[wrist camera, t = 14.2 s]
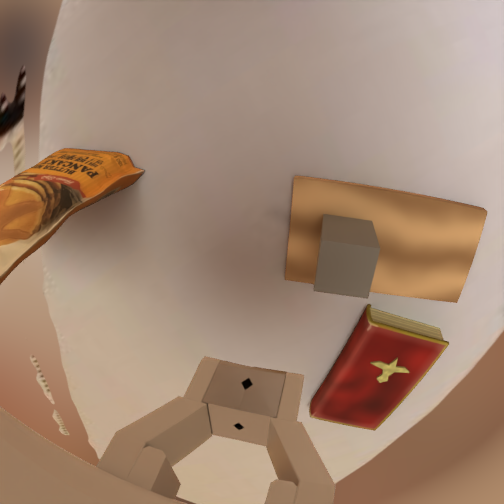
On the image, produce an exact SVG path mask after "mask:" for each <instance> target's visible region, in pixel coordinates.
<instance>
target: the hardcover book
mask: <svg viewBox="0 0 504 504" xmlns="http://www.w3.org/2000/svg"><path fill="white" fill-rule="evenodd" d="M448 345H449V342H447V341H444V340H443V337H442V334H441V331H440V328H437V327H434V326H430V325H427V324H424V323H420V322H417V321H413V320H410V319H407V318H403V317H400V316H397V315H393V314H390V313H387V312H383V311H380V310H377V309H373V308H371V305H370V304H368V305H367V307H366V309H365V311H364V313H363V315H362V317H361V318H360V320H359V322H358V324H357V326H356V328H355V329H354V331H353V333H352V335H351V337H350V338H349V340H348V342H347V344H346V345H345V347H344V349H343V350H342V352H341V354H340V356H339V357H338V359H337V361H336V362H335V364H334V366H333V367H332V369H331V371H330V372H329V374H328V375H327V377H326V379H325V380H324V382H323V383H322V385H321V387H320V388H319V390H318V391H317V393H316V394H315V396H314V397H313V399H312V401H311V403H310V409H309V413H310V417H312V418H316V419H320V420H324V421H329V422H333V423H338V424H343V425H348V426H353V427H358V428H364V429H369V430H376V429H377V428H378V427H379V426H380V425H381V424H382V423H383V422H384V421H385V420H386V419H387V418H388V417H389V416H390V415H391V414H392V412H393V411H394V410H395V409H396V408H397V407H398V406H399V405H400V404H401V403H402V402H403V400H404V399H405V398H406V397H407V396H408V395H409V394H410V393H411V391H412V390H413V389H414V388H415V387H416V386H417V384H418V383H419V382H420V381H421V380H422V378H423V377H424V376H425V375H426V373H427V372H428V371H429V370H430V368H431V367H432V366H433V365H434V363H435V362H436V361H437V360H438V358H439V357H440V356H441V354H442V353H443V352H444V350H445V349H446V348H447V346H448Z"/></svg>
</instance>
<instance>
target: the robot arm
mask: <svg viewBox="0 0 504 504" xmlns="http://www.w3.org/2000/svg"><path fill="white" fill-rule="evenodd" d="M303 381H304V375H302V374H295V373H288V372H287V374H286V372H284V371H278V370H271V369H265V368H259V367H250V366H245V365H241V364H236V363H232V362H228V361H223V360H219V359H214V358H210V357H206V356H205V357H204V358H203V359H202V360H201V362H200V364H199V366H198V368H197V370H196V372H195V374H194V376H193V379H192V381H191V383H190V385H189V387H188V389H187V391H186V393H185V395H184V397H180V396H178V397H177V398H175V399H173V400H172V401H170V402H168V403H167V404H165V405H163V406H161V407H160V408H158V409H156V410H155V411H153V412H151V413H149V414H148V415H146V416H144V417H142V418H140V419H139V420H137V421H135V422H133V423H131V424H130V425H128V426H126V427H124V428H122V429H120V430H119V431H117V432H116V433H115V435H114V437H113V438H112V440H111V442H110V444H109V445H108V447H107V449H106V451H105V452H104V454H103V456H102V457H101V459H100V461H99V463H98V465H97V466H96V467H95V466H93V465H91V464H89V463H87V462H86V461H84V460H81V459H80V458H78V457H76V456H74V455H73V454H71V453H69V452H67V451H66V450H64V449H62V448H61V447H59V446H57V445H56V444H54V443H52V442H50V441H49V440H47V439H45V438H44V437H43V436H41V435H40V434H38V433H36V432H35V431H34V430H32V429H31V428H29V427H28V426H26V425H25V424H23V423H22V422H21V421H19V420H18V419H16V418H15V417H14V416H12V415H11V414H10V413H8V412H7V411H6V410H4V409H3V408H2V407H0V504H186V503H183V502H180V501H177V500H175V497H176V495H177V492H178V490H179V487H180V485H181V484H180V482H179V480H178V478H177V476H176V474H175V473H174V471H173V469H172V466H174V465H175V464H176V463H178V462H179V461H180V460H182V459H183V458H184V457H186V456H187V455H188V454H190V453H191V452H192V451H194V450H195V449H196V448H197V447H199V446H200V445H201V444H203V443H204V442H205V441H206V440H208V439H209V438H210V437H211V436H212V435H217V436H221V437H226V438H231V439H236V440H241V441H245V442H249V443H254V444H258V445H263V446H266V448H267V451H268V453H269V456H270V459H271V461H272V464H273V466H274V469H275V472H276V474H277V477H278V479H279V480H275V481H273V482H271V483H270V487H269V490H268V494H267V498H266V501H265V504H333V500H334V492H335V484H334V482H333V480H332V478H331V476H330V475H329V473H328V471H327V469H326V467H325V465H324V463H323V462H322V460H321V458H320V456H319V454H318V452H317V450H316V449H315V447H314V445H313V443H312V441H311V439H310V437H309V435H308V433H307V432H306V430H305V428H304V426H303V424H302V422H298V421H297V416H298V410H299V405H300V399H301V393H302V387H303Z"/></svg>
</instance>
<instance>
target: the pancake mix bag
mask: <svg viewBox="0 0 504 504" xmlns="http://www.w3.org/2000/svg"><path fill="white" fill-rule="evenodd" d="M144 171H145V170H142V169H139V168H136V167H134V165H133V163H132V161H131V159H130V157H129V156H127V155H124V154H122V153H119V152H107V151H95V150H82V149H71V148H64V149H62V150H59V151H57V152H55V153H53V154H51V155H50V156H48V157H47V158H45V159H44V160H42V161H41V162H39V163H38V164H36V165H35V166H34V167H31V168H29V169H28V170H25V171H23V172H22V173H20V174H18V175H16V176H14V177H13V178H11V179H10V180H8V181H6V182H5V183H3V184H1V185H0V284H1V283H2V282H3V281H4V280H5V278H6V277H7V276H8V275H9V274H10V273H11V272H12V271H13V270H14V268H16V267H17V266H18V265H19V263H21V262H22V261H23V260H24V259H25V258H27V257H28V256H29V255H31V254H32V253H33V252H35V251H36V250H37V249H38V248H40V247H41V246H42V245H43V244H45V243H46V242H47V241H48V240H49V239H50V238H51V236H52V235H53V234H54V233H55V232H56V231H57V230H58V229H59V227H60V226H61V225H62V224H63V223H64V222H65V221H66V219H67V218H68V217H69V216H71V215H72V214H74V213H75V212H77V211H79V210H81V209H83V208H85V207H87V206H89V205H92V204H94V203H95V202H97V201H99V200H101V199H103V198H105V197H107V196H109V195H111V194H113V193H116V192H118V191H120V190H122V189H125V188H126V187H128V186H130V185H132V184H133V183H134V182H135V181H136V180H137V179H138V178H139V177H140V176H141V175H142V173H143V172H144Z"/></svg>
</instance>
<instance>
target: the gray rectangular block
mask: <svg viewBox="0 0 504 504" xmlns="http://www.w3.org/2000/svg"><path fill="white" fill-rule="evenodd" d="M379 252H380V246H379V242H378V239H377V235H376V232H375V229H374V225H373V222H372V221H370V220H363V219H356V218H350V217H343V216H336V215H328V214H323V222H322V229H321V236H320V243H319V250H318V257H317V266H316V275H315V283H314V291H317V292H324V293H332V294H339V295H346V296H353V297H361V298H368V296H369V292H370V288H371V284H372V281H373V277H374V273H375V269H376V265H377V260H378V256H379Z"/></svg>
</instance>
